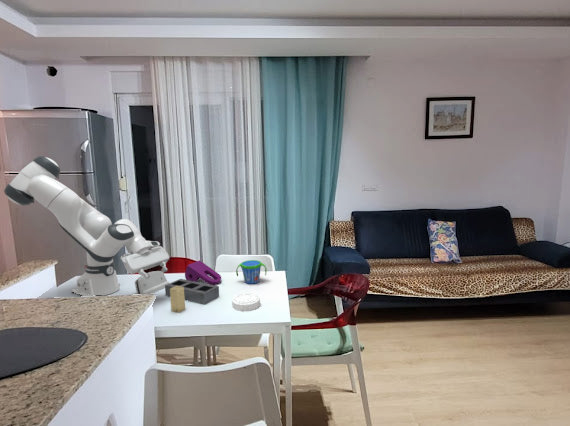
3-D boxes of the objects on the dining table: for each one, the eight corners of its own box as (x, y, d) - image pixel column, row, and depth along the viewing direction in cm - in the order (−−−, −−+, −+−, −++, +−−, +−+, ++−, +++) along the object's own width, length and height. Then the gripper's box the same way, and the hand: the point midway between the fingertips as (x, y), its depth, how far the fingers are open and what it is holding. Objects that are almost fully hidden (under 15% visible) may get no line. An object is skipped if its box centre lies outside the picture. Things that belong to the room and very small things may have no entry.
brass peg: (171, 311, 146) (169, 288, 145) (178, 307, 150) (176, 285, 148) (178, 313, 144) (176, 290, 143) (185, 309, 148) (183, 286, 146)
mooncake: (231, 312, 144) (230, 304, 144) (233, 300, 156) (233, 293, 156) (260, 311, 145) (259, 302, 145) (260, 299, 157) (259, 292, 156)
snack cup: (234, 285, 175) (233, 265, 174) (239, 278, 185) (238, 259, 184) (265, 285, 173) (264, 266, 172) (268, 278, 184) (267, 260, 182)
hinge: (144, 297, 162) (137, 277, 162) (138, 299, 164) (131, 279, 164) (170, 285, 177) (164, 266, 177) (164, 287, 179) (158, 268, 179)
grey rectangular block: (165, 295, 164) (164, 285, 163) (181, 288, 172) (180, 278, 171) (204, 304, 152) (204, 293, 151) (219, 296, 161) (218, 286, 160)
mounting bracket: (219, 291, 184) (195, 272, 190) (224, 278, 181) (199, 260, 187) (208, 297, 175) (183, 278, 181) (213, 284, 173) (187, 265, 179)
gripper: (121, 251, 142) (139, 277, 139) (161, 240, 160) (178, 264, 157) (115, 260, 145) (133, 286, 142) (155, 249, 163) (171, 272, 160)
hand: (157, 274), depth 150 cm, fingers open, 8 cm apart
